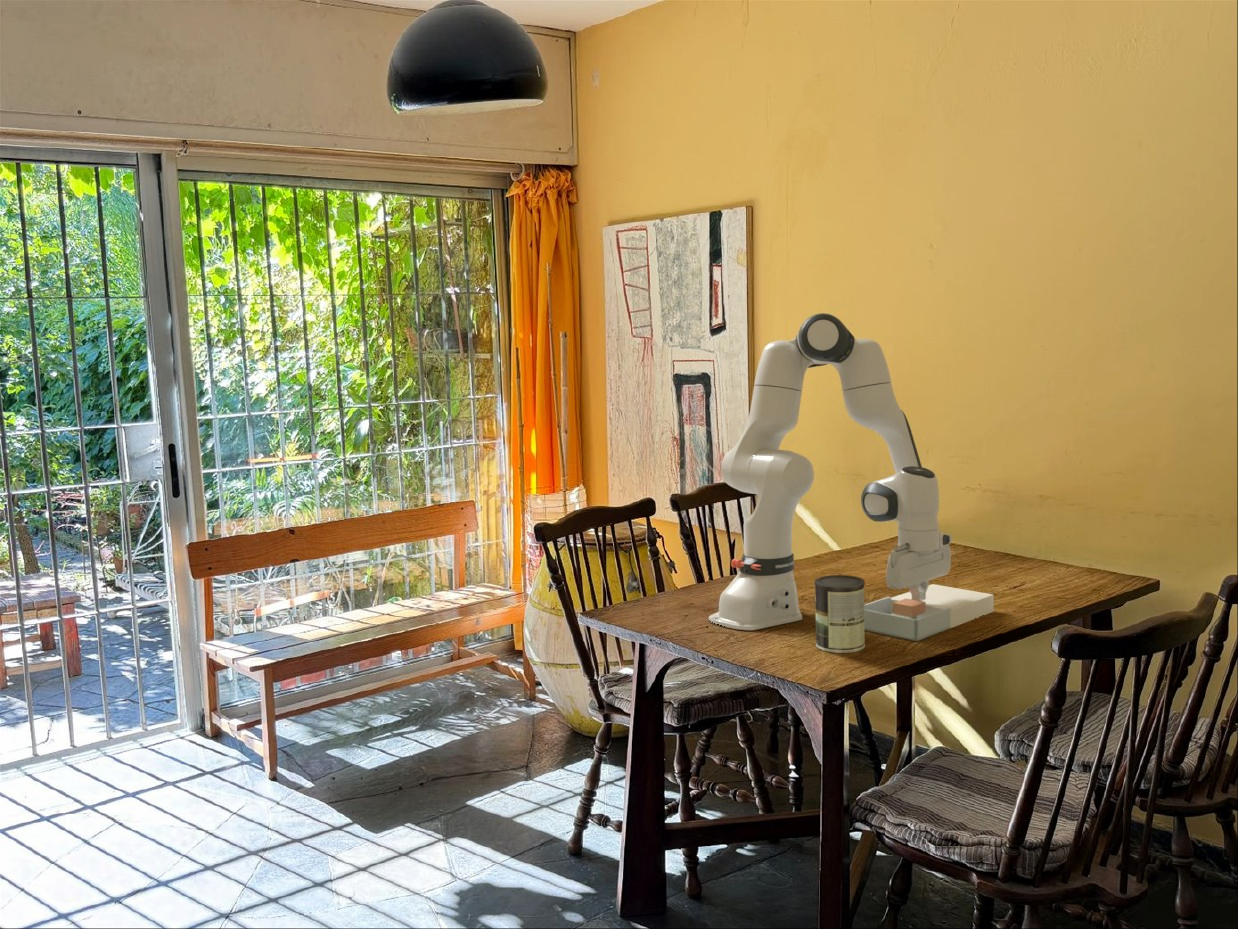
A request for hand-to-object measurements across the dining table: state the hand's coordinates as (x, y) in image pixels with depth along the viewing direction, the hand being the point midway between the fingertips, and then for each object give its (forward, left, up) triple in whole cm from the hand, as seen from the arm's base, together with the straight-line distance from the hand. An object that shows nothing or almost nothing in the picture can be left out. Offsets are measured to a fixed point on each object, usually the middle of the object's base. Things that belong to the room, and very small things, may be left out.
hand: (918, 601), depth 253 cm
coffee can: (-26, +2, -5) cm, 27 cm away
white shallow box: (+9, 0, -5) cm, 10 cm away
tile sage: (-7, 0, -2) cm, 7 cm away
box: (-6, 0, -5) cm, 8 cm away
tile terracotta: (-4, 0, -2) cm, 4 cm away
